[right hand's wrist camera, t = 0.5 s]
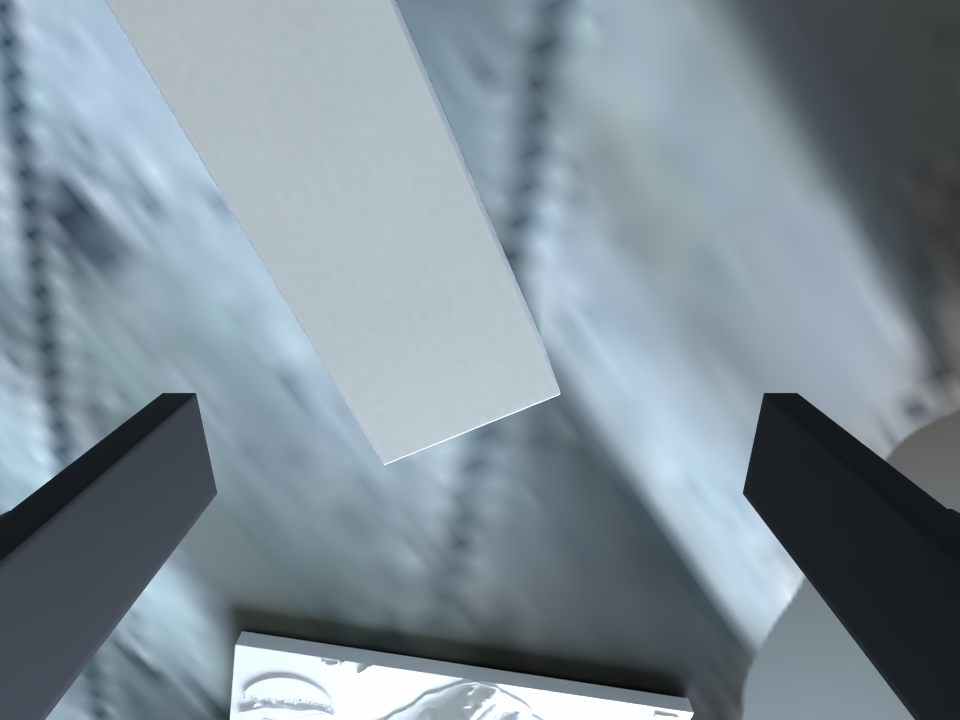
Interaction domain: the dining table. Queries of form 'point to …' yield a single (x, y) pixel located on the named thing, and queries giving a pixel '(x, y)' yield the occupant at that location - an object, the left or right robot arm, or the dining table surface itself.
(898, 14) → the dining table surface
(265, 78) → the long white beam
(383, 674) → the relief map
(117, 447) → the right robot arm
